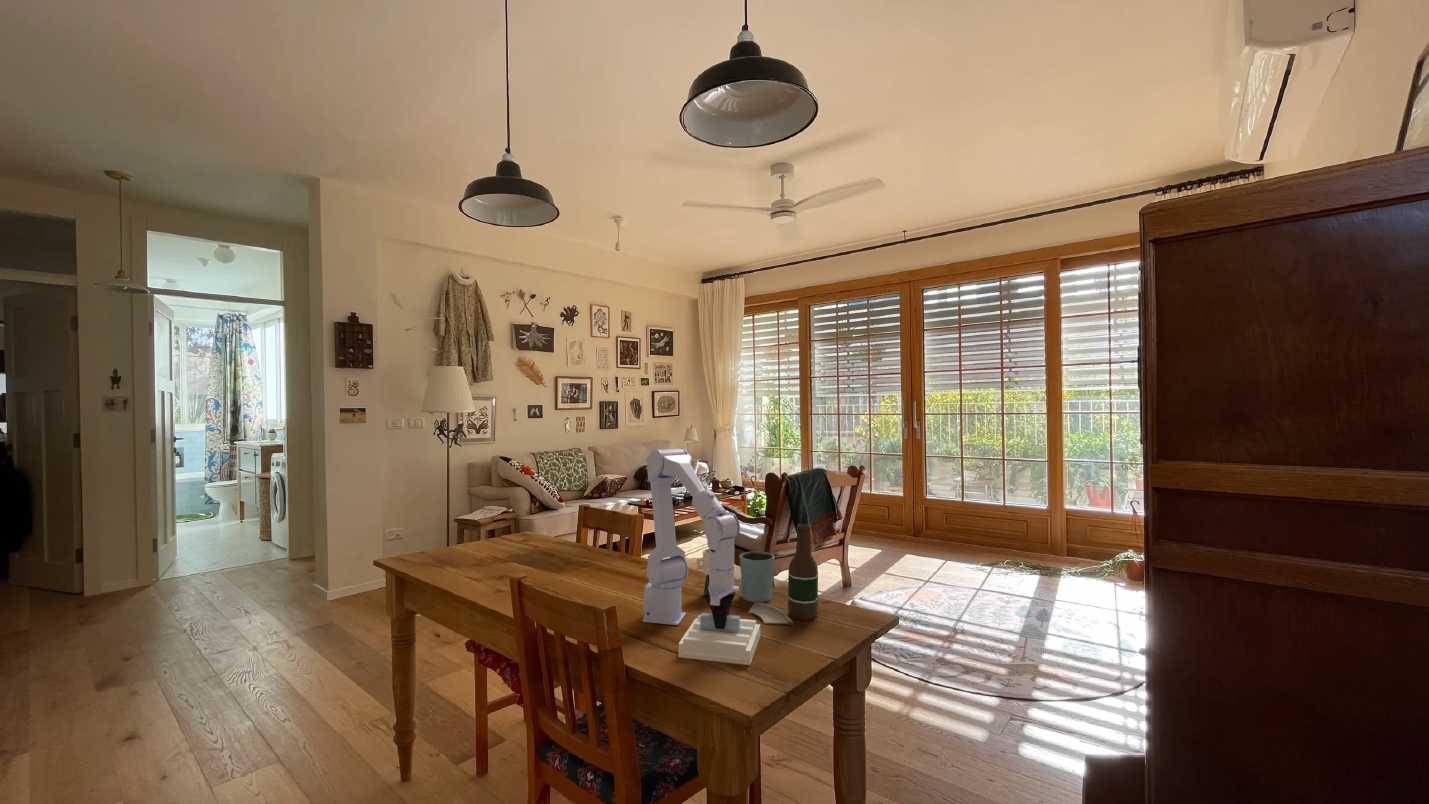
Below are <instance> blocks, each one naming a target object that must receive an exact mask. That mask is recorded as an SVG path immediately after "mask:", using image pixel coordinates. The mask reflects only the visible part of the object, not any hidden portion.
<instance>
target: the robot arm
mask: <svg viewBox="0 0 1429 804" xmlns="http://www.w3.org/2000/svg"><path fill="white" fill-rule="evenodd" d="M692 461H693V459H692V456H691V455H690V453H689V452H688V450H687V449H686V448H684V447H678V448H665V449H663V448H661V449H658V448H655V449H651V451H650V452H649V454H648V456H647V458H646V467H647V471H646V472H647V479H648V481H649V483H650V492H651V493H650V494H651V503H652V504H651V505H652V515H653V525H654V527H653V528H654V537H655V538H654V539H655V548H654V549H653V550H652V551H651V553H649V554H648V555H647V567H646V578H647V580H648V581H649V582H648V583H646V585H645V587H644V592H643V619H642V622H643V623H649V624H651V623H652V624H659V625H660V624H661V625H662V624H663V625H672V626H679V624H680V623H681V621H682V620H684V618H685V616H686V615H687V612H685V611H682V589H683V587H682V586H683V584H684V583H685V580H686V579H687V578H688V575H689V571H690V570H689V569H690V567H689V564H688V560H687V558H686V552H685V550H683V548H681V547H680V546H679V545H677V538H676V526H675V516H674V515H675V514H674V505H673V495H672V484H673V482H674V481H675V480H676V479H678V481H679V482H680V483H681V484H682V486H683V487H684V488H685V490H686V491H687V492H688V493H689V495H690V496H691V497H692V501H691V505H692V507H693V508H694V510H695V511H696V513H697V515H698V516H699V518H700V520H702V522H703V524H704V525H705V526H704V527H703V530H704V531H703V532H704V534H705V537H706V539H707V541H706V543H707V544H706V545H707V549H708V548H710V551H709V586H708V590H709V593H710V596H708V595H707V598H706V603H707V605H708V607H709V609H710V611H711V614H712V615H713V619H714V624H715V628H716V629H724V628H725V625H726V620H727V615H730V611H731V607H732V604H733V600H734V598H735V596H736V593H737V592H739V591H740V586H738V585H735V539H736V538H737V537H738V536H739V535H740V531H741V526H740V520H739V519H738V517H737V515H736V514H735V513H733V512H730V511H728V510H727V509H726V508H724V506H723V505H722V504H721V502H720V500H718V498H717V496H716V494H715V493H714V492H713V491H712V490H710V489H705V488H704V486H703V483H702V482H701V480H700V479H699V477H698V475H697V473H696V471H695V469H694V468H693V466H692ZM725 509H726V510H725Z"/></svg>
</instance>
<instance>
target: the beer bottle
mask: <svg viewBox="0 0 1429 804" xmlns="http://www.w3.org/2000/svg"><path fill="white" fill-rule="evenodd" d="M795 529H796V530H797V534H796V547H795V553H794V556H793V557H792V559H791V560H790V563H789V565H788V573H787V574H788V576H787V578H788V581H787V583H788V584H787V589H788V590H787V599H788V601H787V603H788V604H787V610H788V611H787V612H788V613H787V614H788V615H789V616H790V617H791V618H792V619H794V620H800V621H812V620H815V618H816V617H817V615H818V610H819V607H818V605H819V603H818V601H819V571H818V570H819V569H818V567H819V566H818V565H817V564H818V563H817V562H816V560H815V558H814V557H813V554H812V548H811V533H810V531H811V529H812V528H811V525H810V524H807V523H799V524H797V525H796V528H795Z"/></svg>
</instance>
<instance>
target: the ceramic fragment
mask: <svg viewBox="0 0 1429 804" xmlns="http://www.w3.org/2000/svg"><path fill="white" fill-rule="evenodd" d="M747 613H748V614H751V615H752V616H756V617H758V618H759V619H760V620H761V621H762V623H763V624H764V625H771V626H772V625H774V626H775V625H777V626H779V625H787V626H788V625H789V626H794V625H795V624H794V623H795V622H794V621H793V620H792V618H790V617H789V616H788V615H787V614H786V613H785V612H784V611H782V610H781V609H780V608H777V607H775V606H773V605H770V604H767V603H764V602H754V604H752V606H751V608H749V610H748V612H747Z"/></svg>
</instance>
